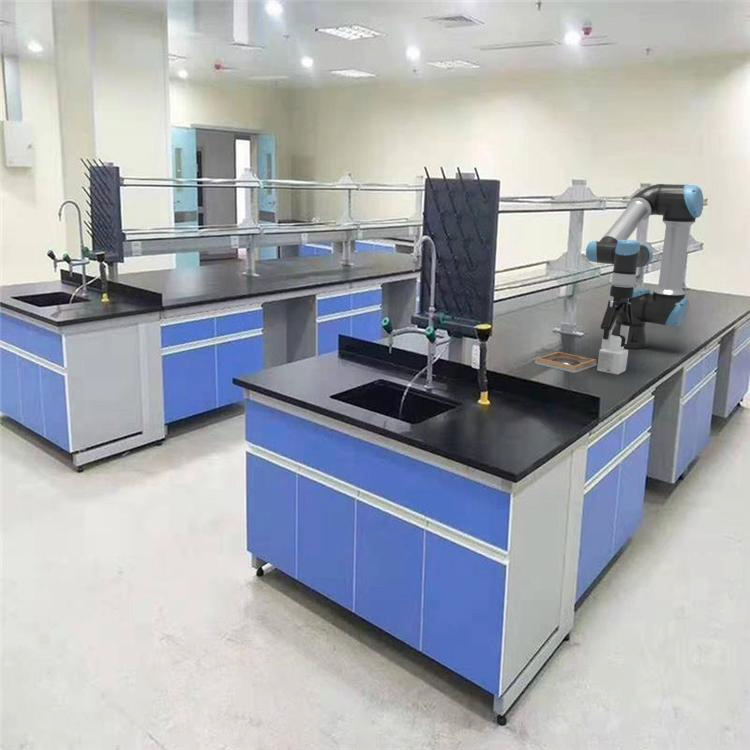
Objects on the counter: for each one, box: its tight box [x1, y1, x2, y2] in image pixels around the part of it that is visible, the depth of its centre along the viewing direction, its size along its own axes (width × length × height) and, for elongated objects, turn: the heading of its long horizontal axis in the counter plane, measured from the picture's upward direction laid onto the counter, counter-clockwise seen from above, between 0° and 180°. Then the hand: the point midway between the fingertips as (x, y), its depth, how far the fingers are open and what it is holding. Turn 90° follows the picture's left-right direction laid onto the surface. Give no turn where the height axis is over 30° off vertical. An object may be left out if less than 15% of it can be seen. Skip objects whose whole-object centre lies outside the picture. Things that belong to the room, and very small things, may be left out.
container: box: [596, 334, 629, 375], centre depth 247 cm, size 8×8×13 cm
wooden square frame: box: [534, 351, 598, 374], centre depth 255 cm, size 16×16×2 cm
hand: (614, 345), depth 246 cm, fingers open, 13 cm apart
